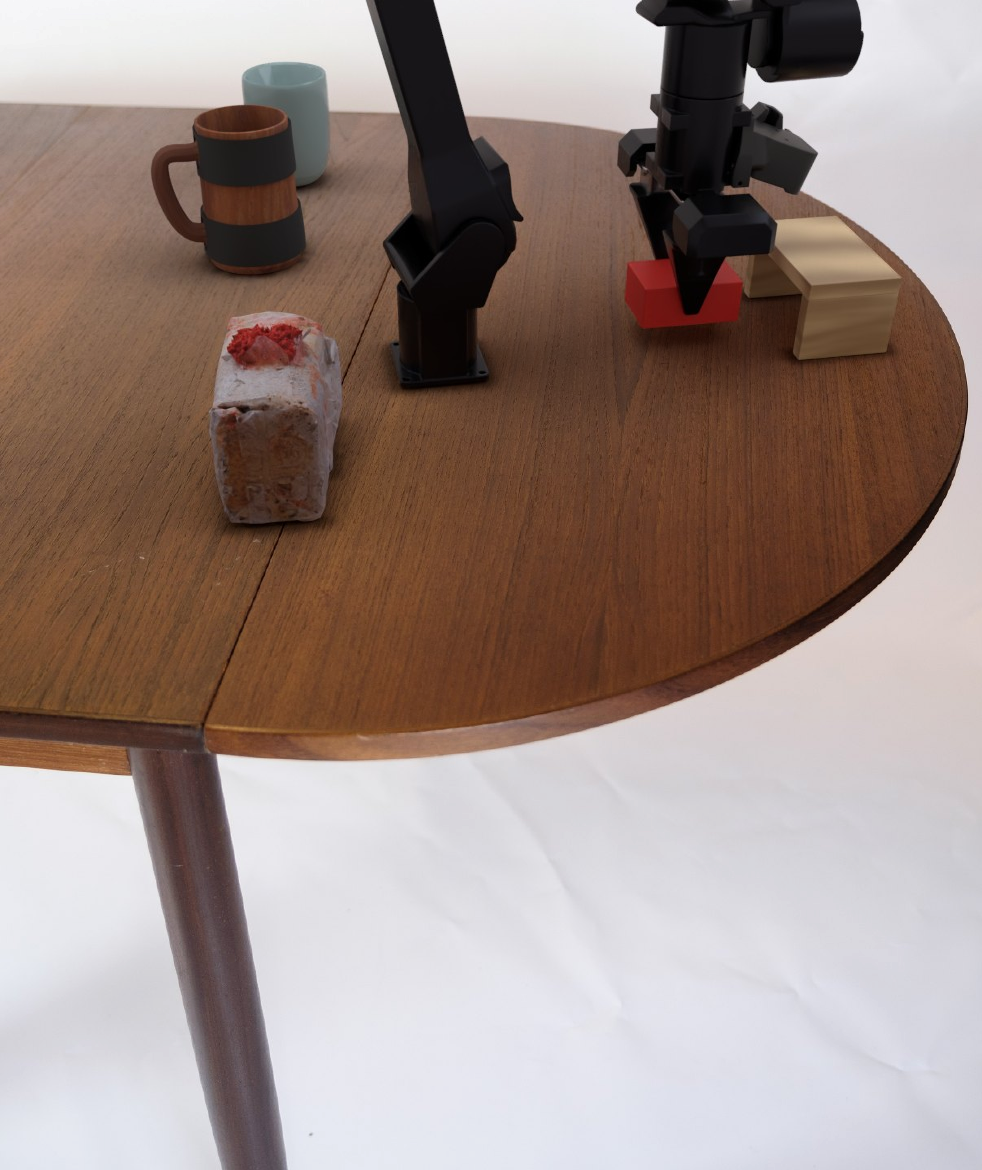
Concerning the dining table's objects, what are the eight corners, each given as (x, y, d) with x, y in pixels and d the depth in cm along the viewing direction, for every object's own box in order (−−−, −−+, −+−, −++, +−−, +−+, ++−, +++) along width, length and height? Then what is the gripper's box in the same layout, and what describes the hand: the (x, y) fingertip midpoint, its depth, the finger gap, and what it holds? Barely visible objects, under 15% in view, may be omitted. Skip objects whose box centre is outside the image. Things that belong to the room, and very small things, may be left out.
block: (716, 293, 100) (721, 254, 98) (738, 321, 96) (743, 281, 94) (624, 300, 99) (627, 261, 97) (642, 329, 95) (645, 289, 93)
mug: (159, 249, 111) (136, 112, 104) (295, 231, 114) (282, 97, 107) (173, 289, 105) (150, 146, 97) (317, 269, 108) (305, 129, 101)
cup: (239, 189, 122) (226, 81, 116) (273, 162, 128) (263, 58, 122) (314, 198, 120) (305, 89, 114) (345, 171, 126) (338, 65, 120)
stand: (886, 352, 96) (902, 277, 93) (798, 360, 95) (811, 285, 92) (824, 285, 106) (836, 215, 102) (743, 292, 105) (753, 221, 101)
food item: (229, 417, 88) (211, 283, 82) (345, 411, 89) (335, 279, 83) (216, 530, 78) (193, 386, 72) (348, 523, 78) (336, 380, 72)
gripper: (869, 124, 82) (828, 346, 91) (765, 45, 96) (739, 243, 106) (702, 134, 80) (678, 359, 89) (622, 52, 94) (609, 253, 104)
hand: (680, 299), depth 97 cm, fingers closed on block, 5 cm apart
